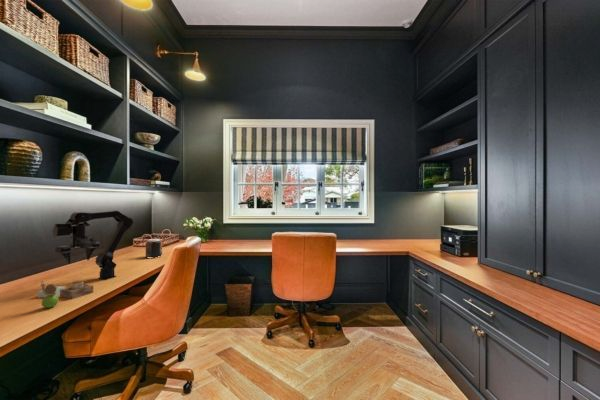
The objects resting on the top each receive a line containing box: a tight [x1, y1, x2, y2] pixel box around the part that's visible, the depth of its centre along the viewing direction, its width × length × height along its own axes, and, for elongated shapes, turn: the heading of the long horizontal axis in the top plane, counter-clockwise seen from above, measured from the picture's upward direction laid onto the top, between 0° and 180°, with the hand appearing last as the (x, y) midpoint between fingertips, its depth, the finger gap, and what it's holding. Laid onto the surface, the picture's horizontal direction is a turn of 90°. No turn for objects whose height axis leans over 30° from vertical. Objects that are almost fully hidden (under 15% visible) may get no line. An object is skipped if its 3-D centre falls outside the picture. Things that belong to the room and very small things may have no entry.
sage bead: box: [37, 285, 67, 298], centre depth 125 cm, size 7×7×3 cm
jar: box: [145, 238, 163, 258], centre depth 208 cm, size 12×12×15 cm
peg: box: [70, 280, 85, 290], centre depth 125 cm, size 3×3×6 cm
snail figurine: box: [40, 280, 60, 309], centre depth 110 cm, size 5×6×12 cm
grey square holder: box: [59, 283, 94, 300], centre depth 125 cm, size 9×9×4 cm
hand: (78, 261), depth 139 cm, fingers open, 9 cm apart
